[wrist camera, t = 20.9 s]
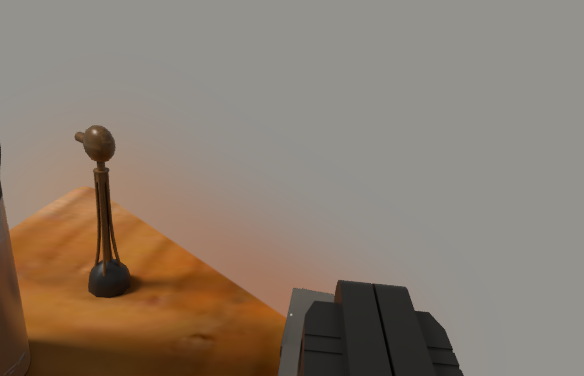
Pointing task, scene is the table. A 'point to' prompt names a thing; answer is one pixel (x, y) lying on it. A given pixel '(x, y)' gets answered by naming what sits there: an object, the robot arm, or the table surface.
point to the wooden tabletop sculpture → (104, 217)
